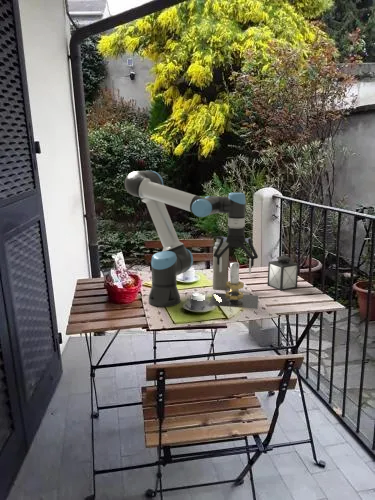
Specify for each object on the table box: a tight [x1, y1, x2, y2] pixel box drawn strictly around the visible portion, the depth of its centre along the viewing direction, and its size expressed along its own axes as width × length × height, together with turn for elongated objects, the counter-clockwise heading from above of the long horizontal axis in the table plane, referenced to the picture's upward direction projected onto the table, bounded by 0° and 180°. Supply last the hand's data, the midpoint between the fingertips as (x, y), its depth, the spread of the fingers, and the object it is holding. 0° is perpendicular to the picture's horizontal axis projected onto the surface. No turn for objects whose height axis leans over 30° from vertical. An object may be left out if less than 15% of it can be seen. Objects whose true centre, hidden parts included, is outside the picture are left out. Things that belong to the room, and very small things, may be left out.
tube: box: [229, 261, 240, 302], centre depth 192 cm, size 4×4×18 cm
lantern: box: [267, 235, 299, 292], centre depth 217 cm, size 11×11×28 cm
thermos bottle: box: [212, 235, 230, 292], centre depth 213 cm, size 8×8×28 cm
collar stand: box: [208, 280, 259, 309], centre depth 193 cm, size 22×18×10 cm
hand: (235, 272), depth 191 cm, fingers open, 13 cm apart
